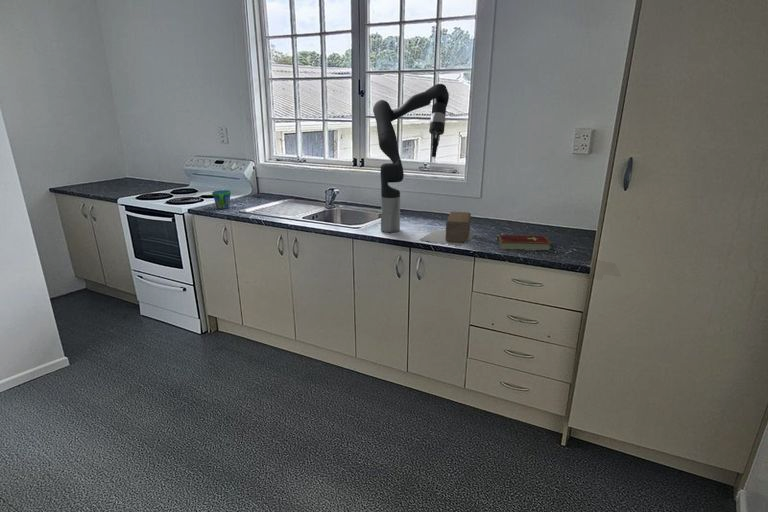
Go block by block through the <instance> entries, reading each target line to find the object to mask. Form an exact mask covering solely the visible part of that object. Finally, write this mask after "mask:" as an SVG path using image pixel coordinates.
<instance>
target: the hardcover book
mask: <svg viewBox="0 0 768 512" xmlns="http://www.w3.org/2000/svg"><path fill="white" fill-rule="evenodd" d="M496 239H497V243H498V242H499V243H498V245H499V244H500V245H499V247H500V246H501V247H500V249H501V248H502V249H543V250H544V249H545V250H549V251H550V247H551V245H552V242H551V241H550V240H549V238H547V236H546V235H520V234H516V235H515V234H497V238H496ZM502 249H501V250H502Z"/></svg>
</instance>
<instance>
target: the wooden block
mask: <svg viewBox="0 0 768 512" xmlns="http://www.w3.org/2000/svg"><path fill="white" fill-rule="evenodd" d="M471 217H472V213H471V212H468V211H467V212H466V211H463V212H462V211H450V212H449V215H448V218H447V220H446V222H445V230H446V239H445V240H446V241H447V242H458V243H464V244H466V243H468V241H469V240H468V237H469V234H470V231H471Z"/></svg>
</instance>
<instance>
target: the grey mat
mask: <svg viewBox="0 0 768 512" xmlns="http://www.w3.org/2000/svg"><path fill="white" fill-rule="evenodd" d="M474 235H475V234H473V233H469V237H468V241H470V239H472V238H474ZM445 239H446V229H445V230H444V229H439V228H438V229H434V230H433V231H431V232H430V233H427V234H426V235H424V236H423V237H420V238H419V239H418V241H419V240H421V241H420V242H424V241H429V242H428V243H431V242H435V243H434V244H437V243H442V244H441V245H444V244H448V245H447V246H450V245H455V246H454V247H457V246H460V247H461V246H463V245H465V243H458V242H447V241H446V240H445ZM462 244H463V245H462Z"/></svg>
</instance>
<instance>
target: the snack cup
mask: <svg viewBox="0 0 768 512" xmlns="http://www.w3.org/2000/svg"><path fill="white" fill-rule="evenodd" d="M231 192H232V191H231V190H228V189H227V190H226V189H224V190H223V189H220V190H214V191H212V192H211V194H212V196H213V199H214V203H215V206H216V209H217V208H218V210H227V209H226V208H228V209H230V208H231V207H230V206H231V195H232V193H231Z"/></svg>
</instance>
